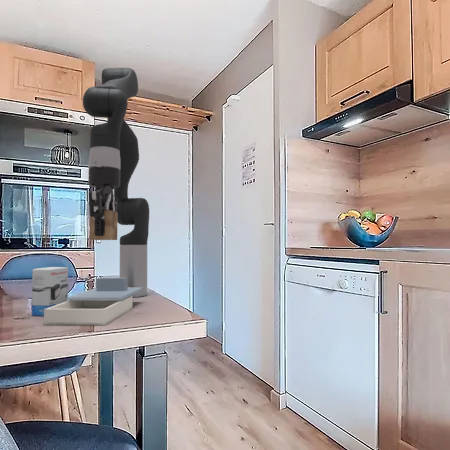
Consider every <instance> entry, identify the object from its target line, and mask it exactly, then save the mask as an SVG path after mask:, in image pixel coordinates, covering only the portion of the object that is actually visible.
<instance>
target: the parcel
mask: <svg viewBox="0 0 450 450" xmlns="http://www.w3.org/2000/svg"><path fill="white" fill-rule="evenodd" d="M89 219H90V220H89V221H90V222H89V223H90V224H89V240H91V241H114V240H115V241H118V222H117V221H118V212H114V211H106V212H105V220H104V221H105V235H104V236H95V220H94V219H93V217H91V216H90V218H89Z"/></svg>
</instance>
